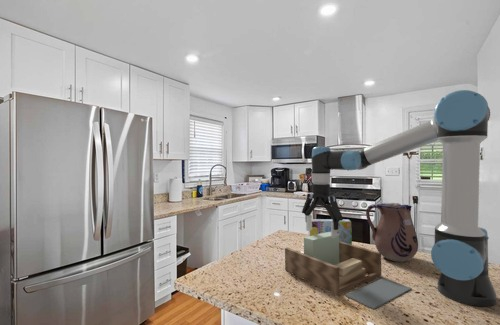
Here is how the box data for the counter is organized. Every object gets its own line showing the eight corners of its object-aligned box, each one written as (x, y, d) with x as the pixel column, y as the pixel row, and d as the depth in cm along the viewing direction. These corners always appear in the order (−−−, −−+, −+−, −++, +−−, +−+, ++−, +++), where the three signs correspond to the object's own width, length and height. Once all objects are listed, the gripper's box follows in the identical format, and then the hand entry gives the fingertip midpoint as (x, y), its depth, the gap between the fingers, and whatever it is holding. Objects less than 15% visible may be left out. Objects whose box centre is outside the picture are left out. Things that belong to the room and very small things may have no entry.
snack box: (349, 247, 138) (348, 219, 139) (352, 251, 133) (351, 221, 133) (308, 246, 140) (308, 218, 141) (309, 250, 135) (309, 220, 135)
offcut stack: (365, 276, 102) (365, 261, 102) (339, 287, 93) (338, 270, 93) (354, 272, 106) (354, 257, 106) (328, 282, 97) (327, 266, 98)
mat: (411, 289, 91) (411, 288, 91) (373, 309, 79) (373, 308, 79) (383, 279, 100) (383, 277, 100) (345, 296, 87) (345, 294, 87)
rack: (381, 275, 102) (381, 252, 103) (336, 295, 88) (336, 268, 88) (328, 256, 124) (328, 237, 124) (285, 269, 109) (285, 248, 110)
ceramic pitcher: (426, 266, 111) (425, 207, 112) (373, 264, 115) (372, 207, 115) (408, 253, 129) (407, 202, 129) (362, 251, 132) (362, 201, 132)
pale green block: (339, 266, 112) (338, 234, 113) (313, 275, 104) (312, 240, 104) (330, 263, 117) (329, 231, 117) (304, 271, 108) (303, 237, 108)
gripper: (352, 185, 102) (352, 239, 102) (305, 181, 123) (305, 226, 123) (339, 186, 98) (339, 242, 98) (294, 182, 119) (294, 228, 119)
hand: (321, 233), depth 111 cm, fingers open, 13 cm apart
